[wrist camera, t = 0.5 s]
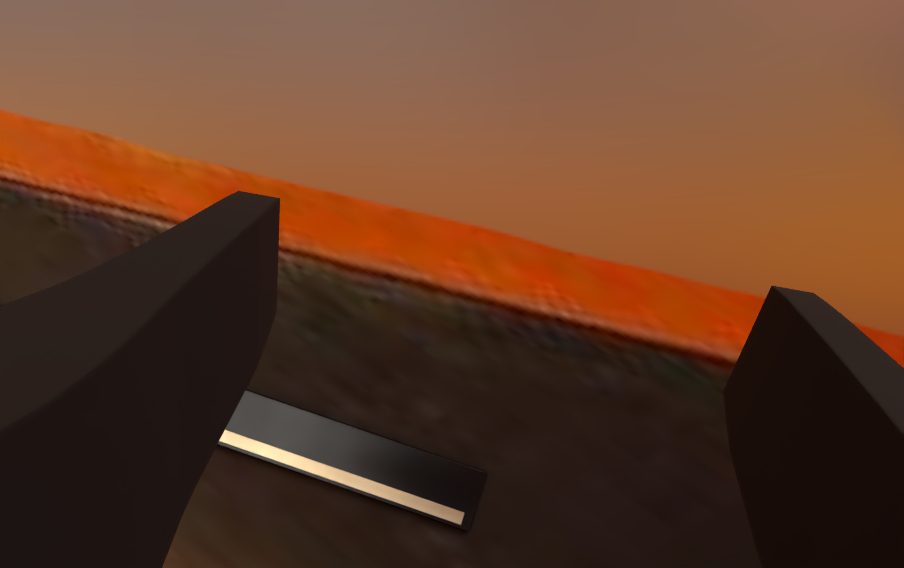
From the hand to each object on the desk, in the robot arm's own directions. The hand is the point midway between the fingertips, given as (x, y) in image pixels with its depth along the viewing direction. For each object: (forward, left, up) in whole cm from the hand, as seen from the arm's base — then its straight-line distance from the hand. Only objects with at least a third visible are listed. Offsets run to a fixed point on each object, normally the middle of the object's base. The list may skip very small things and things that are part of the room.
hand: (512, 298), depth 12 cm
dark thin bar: (-5, +13, -30) cm, 33 cm away
